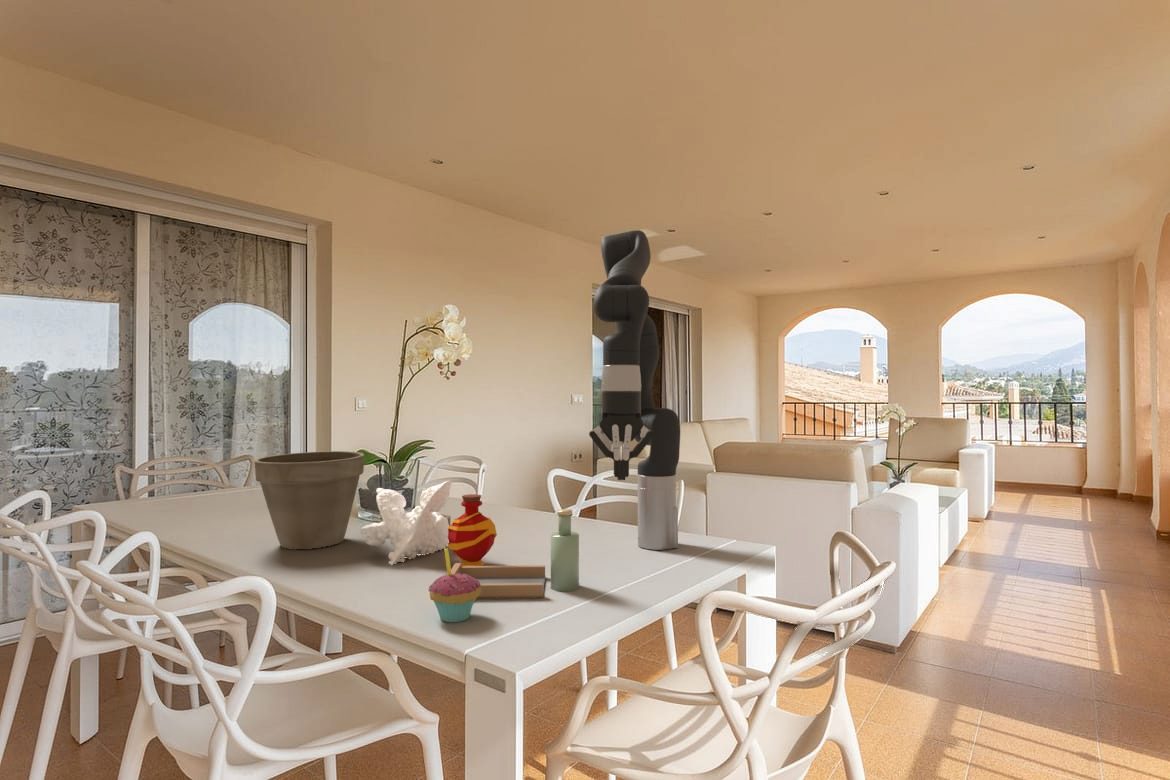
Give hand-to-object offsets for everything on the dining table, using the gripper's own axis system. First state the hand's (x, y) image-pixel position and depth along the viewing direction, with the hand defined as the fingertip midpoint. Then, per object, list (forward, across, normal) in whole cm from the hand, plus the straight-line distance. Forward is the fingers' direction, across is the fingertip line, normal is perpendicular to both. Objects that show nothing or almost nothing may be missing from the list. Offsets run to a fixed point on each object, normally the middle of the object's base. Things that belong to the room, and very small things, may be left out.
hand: (621, 479), depth 125 cm
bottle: (+20, +11, 0) cm, 23 cm away
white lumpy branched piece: (+21, +47, -26) cm, 57 cm away
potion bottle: (+21, +31, -16) cm, 40 cm away
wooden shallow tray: (+21, +24, 0) cm, 31 cm away
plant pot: (+21, +74, -38) cm, 86 cm away
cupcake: (+21, +29, +16) cm, 39 cm away
